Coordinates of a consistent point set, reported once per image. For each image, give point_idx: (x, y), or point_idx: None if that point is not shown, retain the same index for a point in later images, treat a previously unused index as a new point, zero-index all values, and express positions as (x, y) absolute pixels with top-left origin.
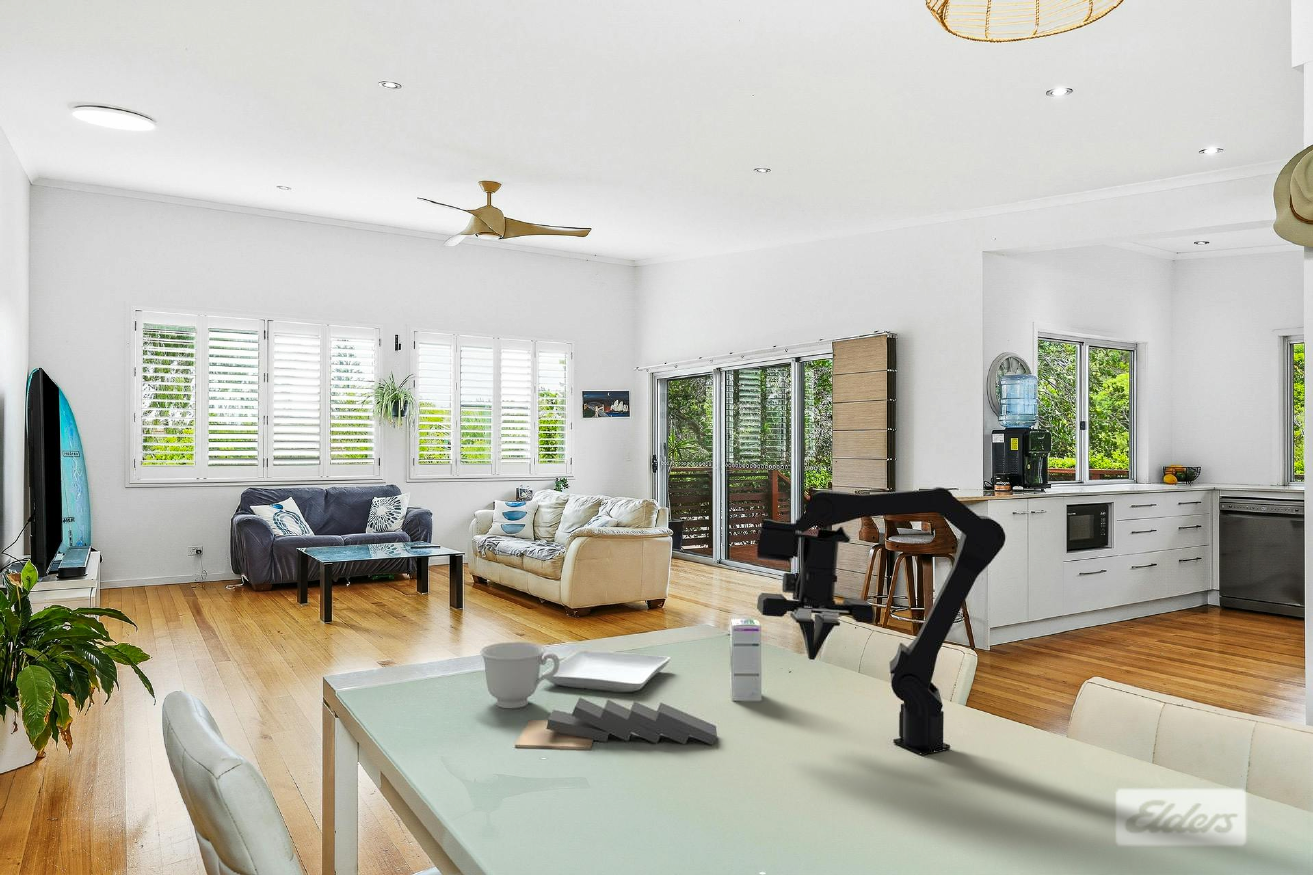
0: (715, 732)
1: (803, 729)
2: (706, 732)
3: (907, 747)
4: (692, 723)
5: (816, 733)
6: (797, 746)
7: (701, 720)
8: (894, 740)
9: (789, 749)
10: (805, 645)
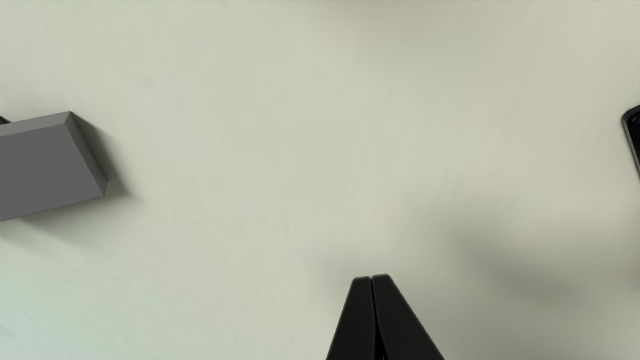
0: (88, 175)
1: (343, 14)
2: (73, 202)
3: (637, 161)
4: (16, 199)
5: (385, 51)
6: (316, 165)
7: (13, 139)
8: (628, 123)
9: (295, 185)
10: (328, 358)
